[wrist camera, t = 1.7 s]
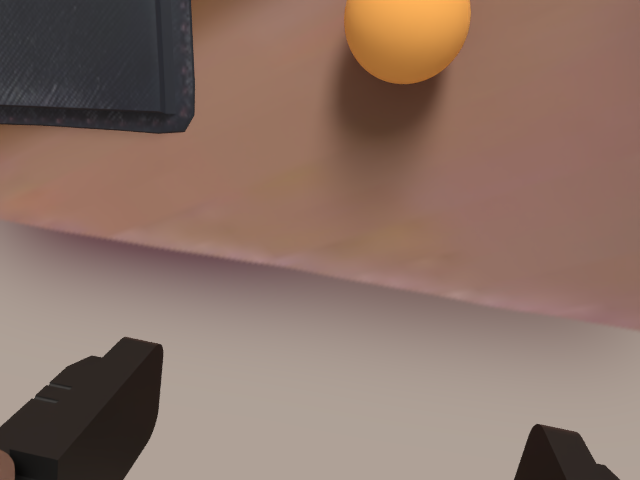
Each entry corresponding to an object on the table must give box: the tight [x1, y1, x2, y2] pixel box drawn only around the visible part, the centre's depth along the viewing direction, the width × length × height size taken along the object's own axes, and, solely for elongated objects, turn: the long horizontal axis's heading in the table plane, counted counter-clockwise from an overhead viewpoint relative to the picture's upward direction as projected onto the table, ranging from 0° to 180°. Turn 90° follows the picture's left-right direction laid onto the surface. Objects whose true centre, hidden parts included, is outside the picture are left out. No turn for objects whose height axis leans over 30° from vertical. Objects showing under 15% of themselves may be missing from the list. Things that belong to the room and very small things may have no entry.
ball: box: [344, 0, 471, 84], centre depth 26 cm, size 6×6×6 cm
